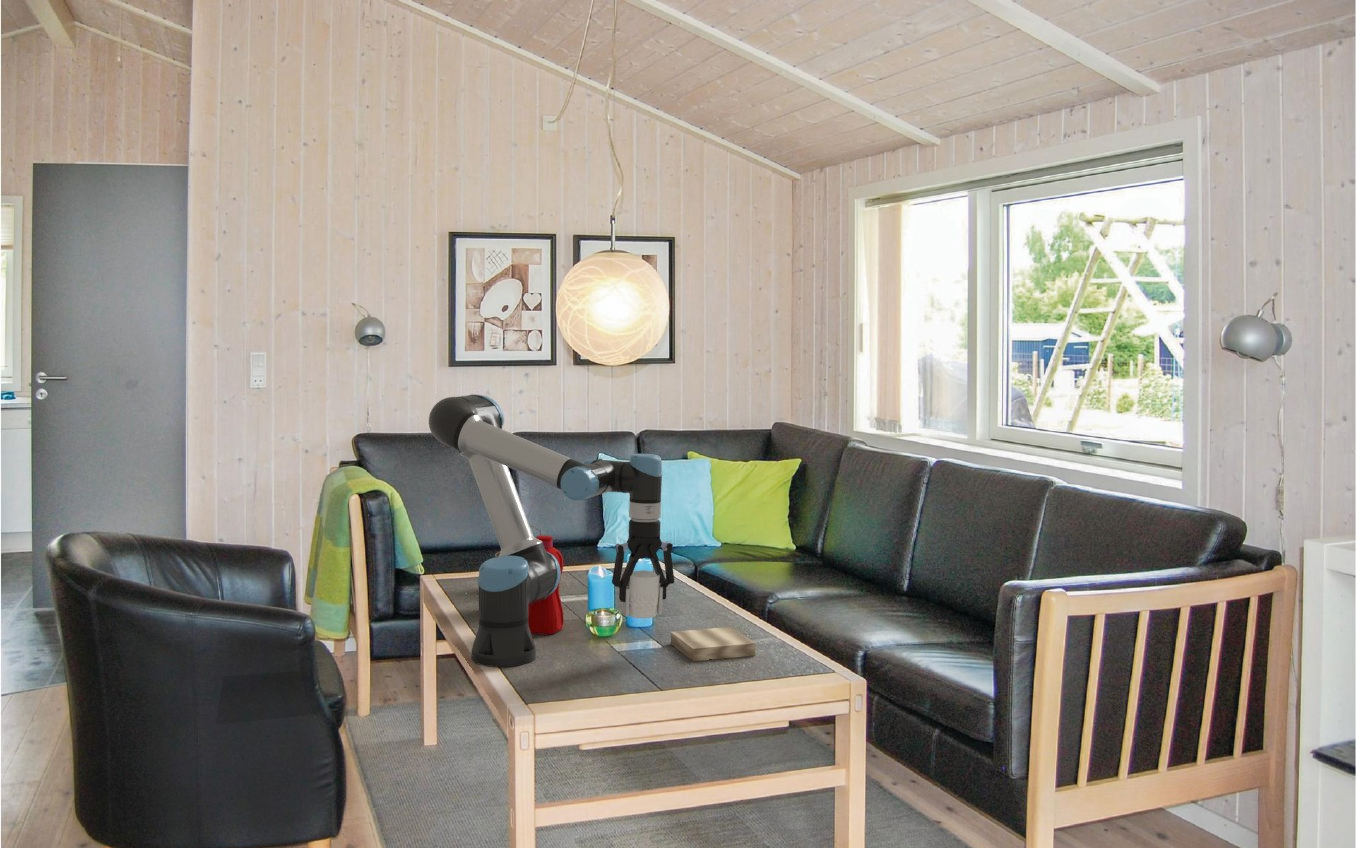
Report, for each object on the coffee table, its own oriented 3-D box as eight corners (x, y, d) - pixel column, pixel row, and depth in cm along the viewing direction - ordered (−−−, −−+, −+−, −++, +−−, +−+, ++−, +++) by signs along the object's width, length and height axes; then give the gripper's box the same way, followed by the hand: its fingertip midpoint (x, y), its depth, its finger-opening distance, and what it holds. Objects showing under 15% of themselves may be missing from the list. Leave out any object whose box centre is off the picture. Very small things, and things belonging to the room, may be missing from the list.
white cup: (644, 621, 260) (645, 579, 259) (619, 615, 265) (620, 573, 264) (665, 615, 266) (666, 574, 265) (639, 609, 271) (641, 568, 270)
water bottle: (569, 626, 294) (569, 532, 292) (553, 637, 283) (554, 539, 281) (537, 623, 296) (537, 530, 294) (520, 634, 285) (520, 537, 284)
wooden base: (693, 661, 263) (693, 648, 263) (670, 643, 278) (670, 631, 278) (755, 655, 268) (755, 643, 268) (730, 638, 283) (730, 626, 283)
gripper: (607, 523, 257) (605, 620, 258) (690, 520, 263) (687, 615, 265) (598, 518, 264) (596, 612, 266) (680, 515, 270) (677, 607, 272)
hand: (642, 613), depth 265 cm, fingers closed on white cup, 8 cm apart
